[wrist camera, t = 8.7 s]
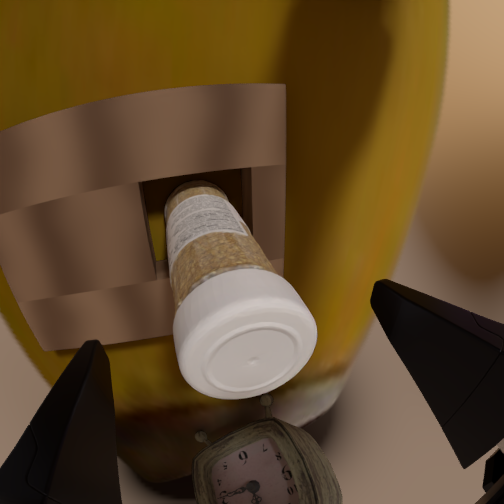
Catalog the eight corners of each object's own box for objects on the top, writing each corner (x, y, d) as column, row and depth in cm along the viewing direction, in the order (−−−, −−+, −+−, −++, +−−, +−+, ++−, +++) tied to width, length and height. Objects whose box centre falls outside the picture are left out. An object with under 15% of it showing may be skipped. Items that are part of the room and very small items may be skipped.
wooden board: (270, 85, 17) (285, 84, 15) (271, 294, 25) (281, 312, 23) (-14, 139, 12) (-32, 145, 10) (49, 331, 20) (44, 351, 18)
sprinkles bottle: (226, 238, 22) (305, 390, 10) (164, 242, 20) (185, 412, 9) (230, 176, 19) (337, 294, 8) (162, 178, 18) (171, 314, 7)
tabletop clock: (269, 381, 32) (363, 571, 11) (302, 402, 37) (382, 549, 16) (180, 432, 33) (230, 600, 12) (222, 446, 38) (274, 585, 17)
